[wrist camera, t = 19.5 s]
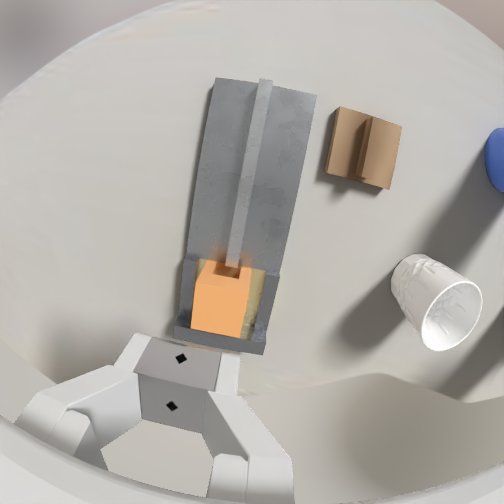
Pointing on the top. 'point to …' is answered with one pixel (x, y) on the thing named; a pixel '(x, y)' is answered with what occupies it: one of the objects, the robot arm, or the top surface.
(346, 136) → the pad
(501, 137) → the water bottle
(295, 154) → the rail
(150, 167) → the top surface
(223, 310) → the orange notched block
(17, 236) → the top surface
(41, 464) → the robot arm
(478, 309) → the white cup
